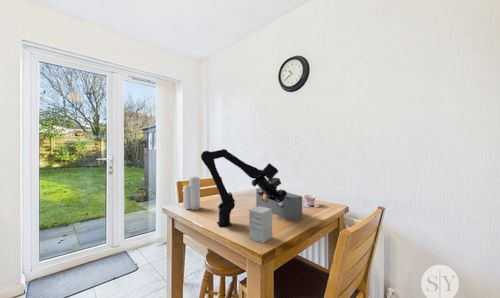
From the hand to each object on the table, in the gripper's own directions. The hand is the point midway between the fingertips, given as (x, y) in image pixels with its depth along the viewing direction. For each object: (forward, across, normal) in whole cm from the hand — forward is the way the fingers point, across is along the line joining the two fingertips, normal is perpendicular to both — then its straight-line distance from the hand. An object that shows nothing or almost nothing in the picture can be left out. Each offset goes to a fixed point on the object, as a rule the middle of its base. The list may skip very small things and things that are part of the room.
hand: (279, 202), depth 121 cm
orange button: (+2, +14, +1) cm, 14 cm away
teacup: (+28, +5, -16) cm, 33 cm away
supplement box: (-13, -16, +24) cm, 32 cm away
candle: (-20, +45, +31) cm, 58 cm away
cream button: (+2, 0, +1) cm, 3 cm away
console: (+9, +7, +3) cm, 12 cm away
